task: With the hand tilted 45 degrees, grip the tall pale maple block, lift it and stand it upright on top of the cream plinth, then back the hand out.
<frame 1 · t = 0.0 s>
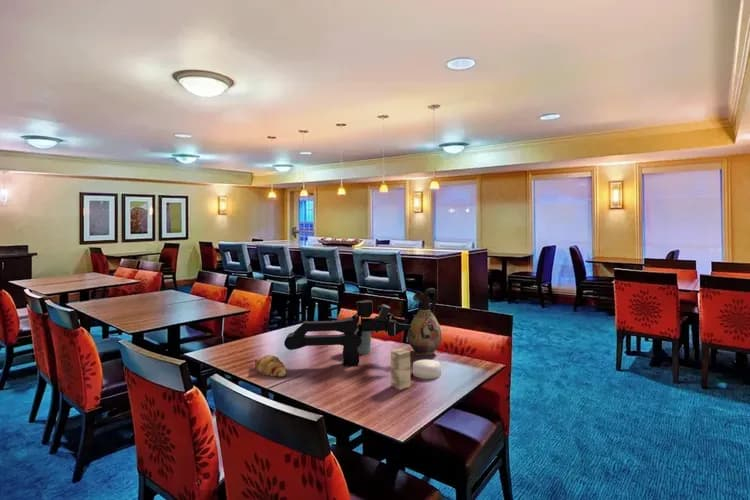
hand: (409, 323, 184), 17 cm above the table, tool horizontal, fingers open, 9 cm apart
grey cup: (360, 352, 201), on the table
croissant: (269, 373, 175), on the table
cream plinth: (427, 374, 170), on the table
ceramic jug: (426, 353, 198), on the table
maple block: (400, 386, 157), on the table
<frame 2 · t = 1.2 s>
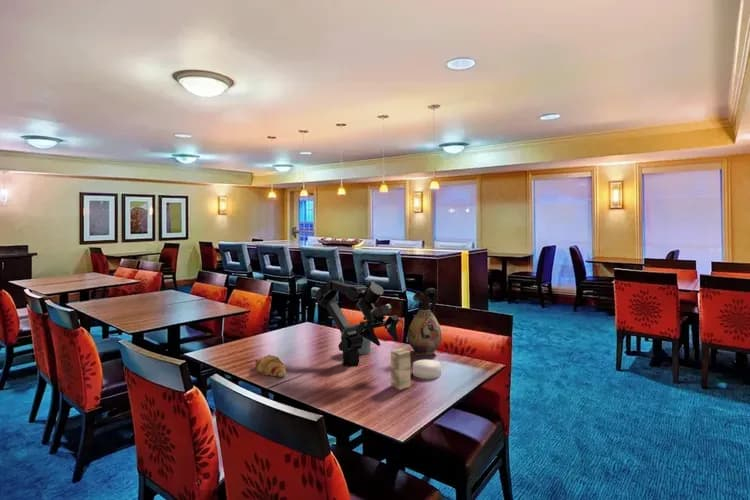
hand: (388, 343, 164), 14 cm above the table, tool tilted 45°, fingers open, 9 cm apart
nothing on the table moved.
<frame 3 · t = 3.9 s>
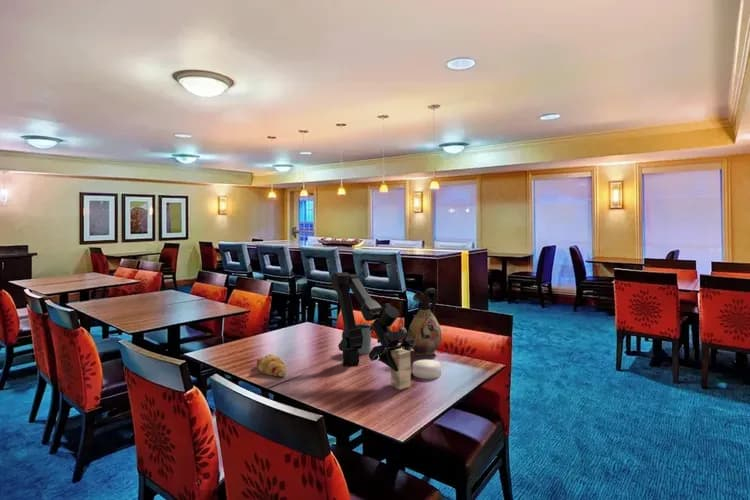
hand: (403, 369, 156), 7 cm above the table, tool tilted 45°, fingers closed on maple block, 5 cm apart
maple block: (400, 386, 157), on the table, touching gripper
everything else where it was.
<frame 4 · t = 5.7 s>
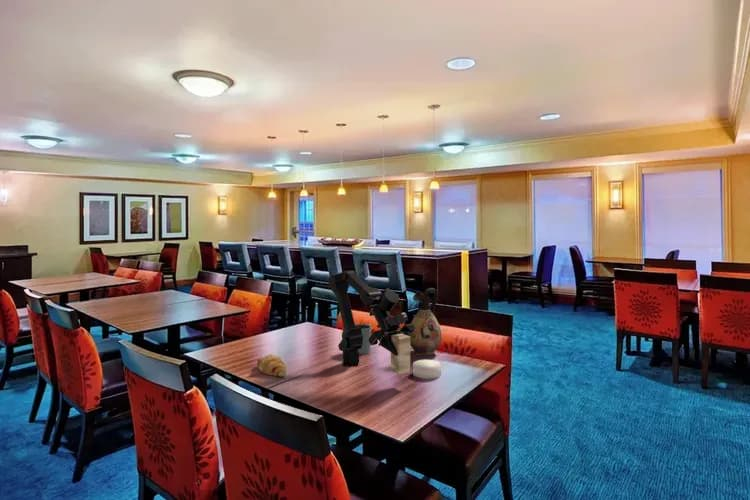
hand: (402, 353, 156), 12 cm above the table, tool tilted 45°, fingers closed on maple block, 5 cm apart
maple block: (400, 371, 157), point 6 cm above the table, touching gripper
everything else where it was.
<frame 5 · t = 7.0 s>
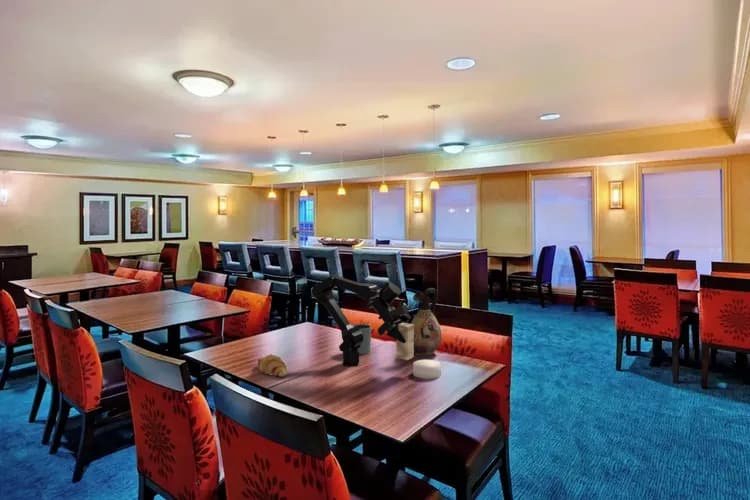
hand: (408, 341, 168), 13 cm above the table, tool tilted 45°, fingers closed on maple block, 5 cm apart
maple block: (404, 357, 169), point 7 cm above the table, touching gripper
everything else where it was.
when the fingers open (12 cm above the table, at t = 10.1 s): maple block drops 1 cm, resting on cream plinth.
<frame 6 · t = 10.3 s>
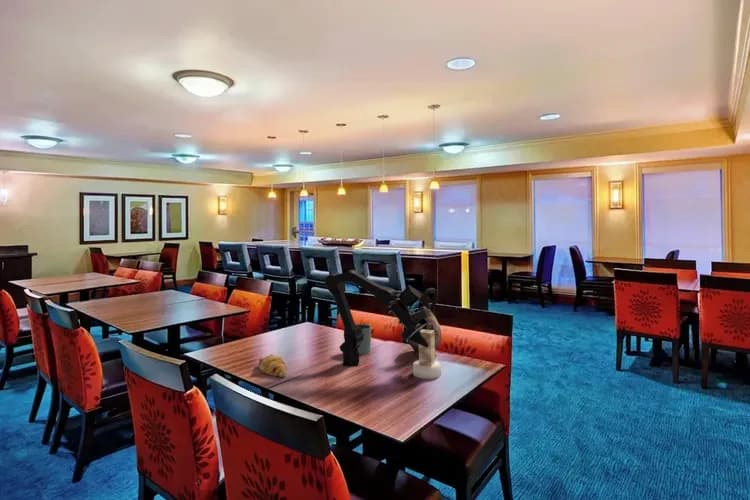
hand: (430, 344, 168), 12 cm above the table, tool tilted 45°, fingers open, 7 cm apart
maple block: (427, 363, 170), point 4 cm above the table, touching cream plinth
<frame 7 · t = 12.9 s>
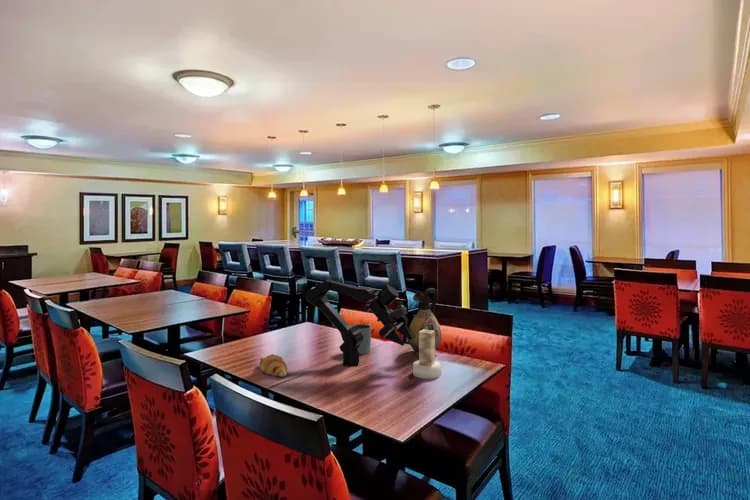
hand: (407, 341, 172), 12 cm above the table, tool tilted 45°, fingers open, 9 cm apart
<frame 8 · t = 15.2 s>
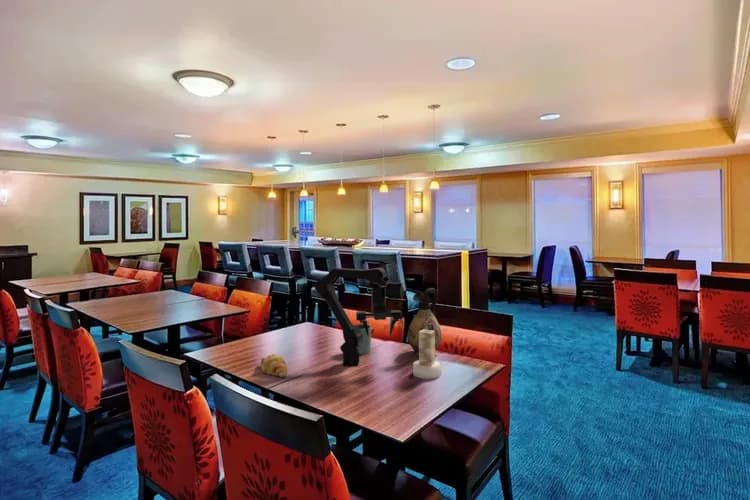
hand: (379, 335, 179), 13 cm above the table, tool pointing down, fingers open, 9 cm apart
at the end: maple block 0.1 cm off-centre on the cream plinth, point 4.0 cm above the cream plinth's base; maple block tilted 0°; the gripper is holding nothing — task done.
